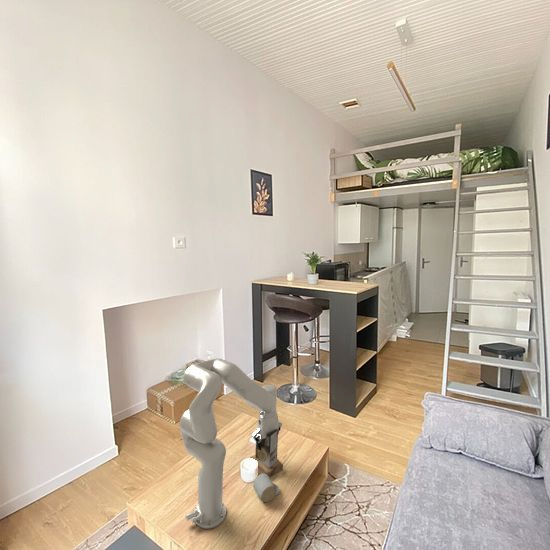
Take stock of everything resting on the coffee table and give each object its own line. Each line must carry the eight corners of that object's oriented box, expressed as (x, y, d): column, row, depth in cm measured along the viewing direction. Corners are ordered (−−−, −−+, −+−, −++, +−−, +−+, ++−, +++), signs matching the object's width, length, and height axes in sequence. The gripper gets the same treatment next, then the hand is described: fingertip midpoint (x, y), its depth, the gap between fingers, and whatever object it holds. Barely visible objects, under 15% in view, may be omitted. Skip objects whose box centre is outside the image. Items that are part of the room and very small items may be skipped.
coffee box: (277, 460, 150) (278, 429, 148) (269, 468, 144) (270, 436, 143) (262, 452, 155) (263, 422, 153) (254, 460, 149) (255, 428, 148)
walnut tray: (266, 479, 142) (266, 472, 141) (250, 462, 152) (250, 457, 151) (282, 469, 148) (282, 463, 148) (266, 454, 158) (266, 449, 158)
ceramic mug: (261, 506, 127) (262, 489, 126) (252, 492, 134) (253, 476, 133) (283, 497, 132) (284, 480, 132) (273, 483, 139) (274, 468, 139)
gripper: (257, 421, 139) (256, 456, 140) (287, 409, 149) (285, 442, 151) (248, 413, 144) (247, 447, 146) (277, 402, 155) (276, 434, 157)
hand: (267, 445), depth 149 cm, fingers open, 9 cm apart
